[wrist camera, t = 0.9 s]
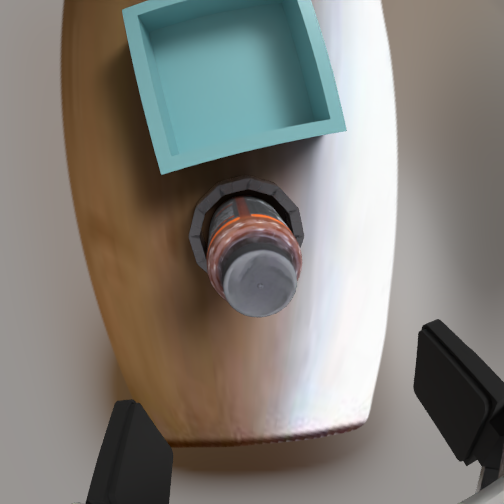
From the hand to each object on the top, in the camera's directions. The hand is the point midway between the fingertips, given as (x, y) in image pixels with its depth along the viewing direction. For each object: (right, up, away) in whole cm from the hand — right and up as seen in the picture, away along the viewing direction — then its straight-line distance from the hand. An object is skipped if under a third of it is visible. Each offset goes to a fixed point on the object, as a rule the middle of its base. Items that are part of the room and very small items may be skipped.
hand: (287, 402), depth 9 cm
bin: (-3, +19, +14) cm, 23 cm away
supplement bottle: (-2, +7, +18) cm, 20 cm away
